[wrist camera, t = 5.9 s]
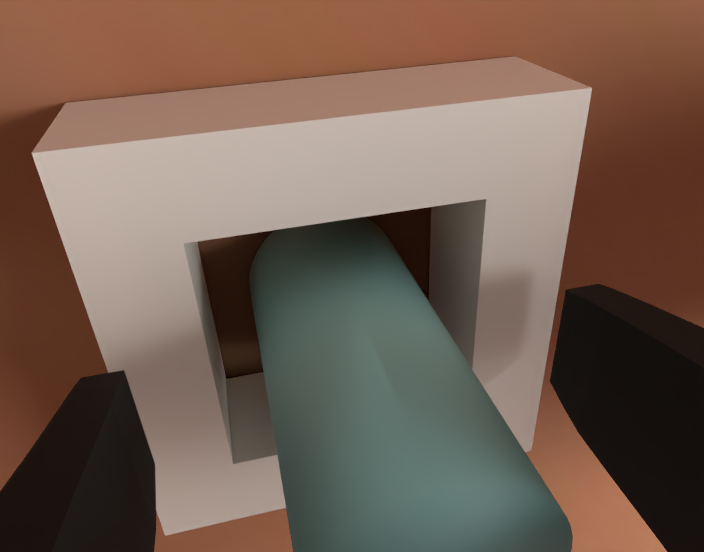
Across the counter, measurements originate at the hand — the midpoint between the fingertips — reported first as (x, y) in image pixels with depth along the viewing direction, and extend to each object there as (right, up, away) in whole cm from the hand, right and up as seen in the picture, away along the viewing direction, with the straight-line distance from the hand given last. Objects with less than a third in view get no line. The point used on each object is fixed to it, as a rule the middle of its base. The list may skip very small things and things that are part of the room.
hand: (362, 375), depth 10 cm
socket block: (-1, +2, +3) cm, 3 cm away
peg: (-1, +2, +3) cm, 3 cm away
